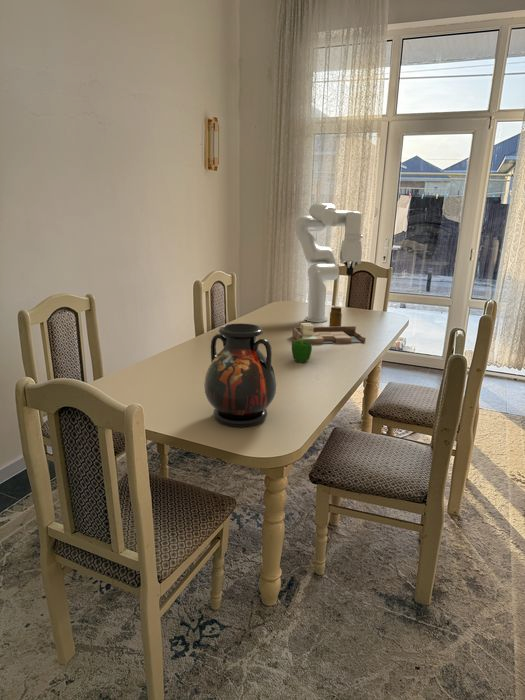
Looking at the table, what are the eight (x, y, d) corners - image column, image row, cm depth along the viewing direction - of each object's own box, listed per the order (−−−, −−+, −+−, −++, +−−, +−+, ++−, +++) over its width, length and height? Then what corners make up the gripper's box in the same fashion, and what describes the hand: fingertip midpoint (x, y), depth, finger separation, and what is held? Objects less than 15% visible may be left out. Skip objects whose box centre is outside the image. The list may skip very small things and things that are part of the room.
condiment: (334, 327, 263) (336, 305, 259) (346, 331, 256) (348, 308, 253) (325, 329, 258) (326, 307, 255) (337, 333, 252) (338, 310, 248)
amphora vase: (191, 425, 144) (189, 332, 136) (223, 399, 164) (222, 317, 156) (260, 438, 137) (262, 341, 129) (284, 409, 156) (287, 323, 149)
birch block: (300, 333, 240) (300, 323, 238) (310, 332, 241) (310, 322, 239) (303, 335, 235) (303, 325, 234) (313, 335, 236) (313, 325, 235)
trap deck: (292, 336, 244) (292, 327, 242) (354, 334, 249) (355, 326, 248) (299, 344, 229) (300, 335, 228) (365, 342, 235) (365, 333, 233)
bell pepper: (299, 356, 211) (300, 334, 209) (314, 361, 206) (315, 337, 203) (286, 360, 206) (287, 337, 203) (301, 365, 200) (302, 341, 197)
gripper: (363, 237, 245) (361, 274, 251) (335, 237, 243) (332, 274, 248) (369, 238, 238) (366, 276, 244) (339, 238, 236) (337, 276, 241)
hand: (349, 275), depth 246 cm, fingers closed
